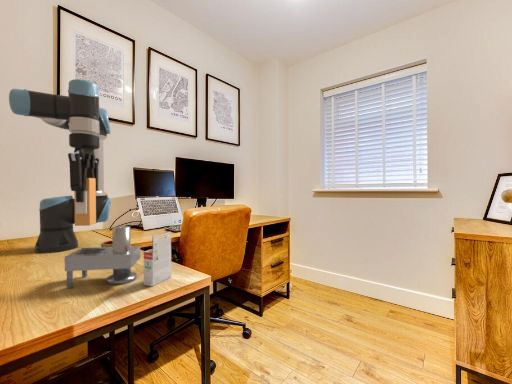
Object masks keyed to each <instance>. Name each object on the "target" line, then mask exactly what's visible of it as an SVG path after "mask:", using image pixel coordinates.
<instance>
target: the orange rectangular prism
mask: <svg viewBox="0 0 512 384" xmlns="http://www.w3.org/2000/svg"><path fill="white" fill-rule="evenodd" d="M85 191H87V214H76V191H73V192H74V194H73V195H74V197H73V199H74V202H75V224H74V226H75V227H83V226H84V227H85V226H92V225H93V226H94V225H96V224H97V223H96V178H86V187H85Z"/></svg>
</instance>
